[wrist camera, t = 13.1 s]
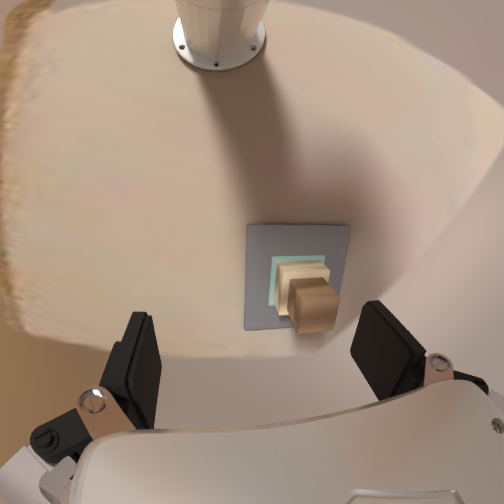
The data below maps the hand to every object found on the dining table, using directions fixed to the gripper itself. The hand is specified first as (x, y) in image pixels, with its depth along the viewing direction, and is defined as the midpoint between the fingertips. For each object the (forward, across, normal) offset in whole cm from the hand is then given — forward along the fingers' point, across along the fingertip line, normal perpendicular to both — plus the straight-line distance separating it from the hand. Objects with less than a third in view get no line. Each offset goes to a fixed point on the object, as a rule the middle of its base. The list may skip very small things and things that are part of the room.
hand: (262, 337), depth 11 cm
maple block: (+28, -11, +12) cm, 32 cm away
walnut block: (+24, -11, +12) cm, 29 cm away
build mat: (+28, -11, +12) cm, 33 cm away
